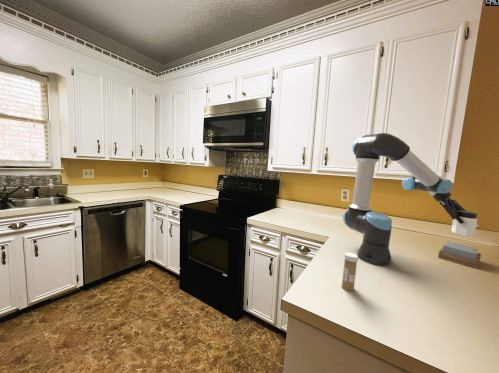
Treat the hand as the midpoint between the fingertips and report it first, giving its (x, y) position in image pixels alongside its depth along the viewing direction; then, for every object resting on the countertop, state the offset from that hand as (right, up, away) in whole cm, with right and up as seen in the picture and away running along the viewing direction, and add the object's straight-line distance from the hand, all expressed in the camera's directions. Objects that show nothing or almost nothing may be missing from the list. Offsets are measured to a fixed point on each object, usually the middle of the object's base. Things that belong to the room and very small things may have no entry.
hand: (472, 228), depth 110 cm
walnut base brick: (-2, -18, +5) cm, 19 cm away
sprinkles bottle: (-78, -18, -28) cm, 85 cm away
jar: (-2, -4, +4) cm, 6 cm away
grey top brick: (-2, -15, +4) cm, 15 cm away
